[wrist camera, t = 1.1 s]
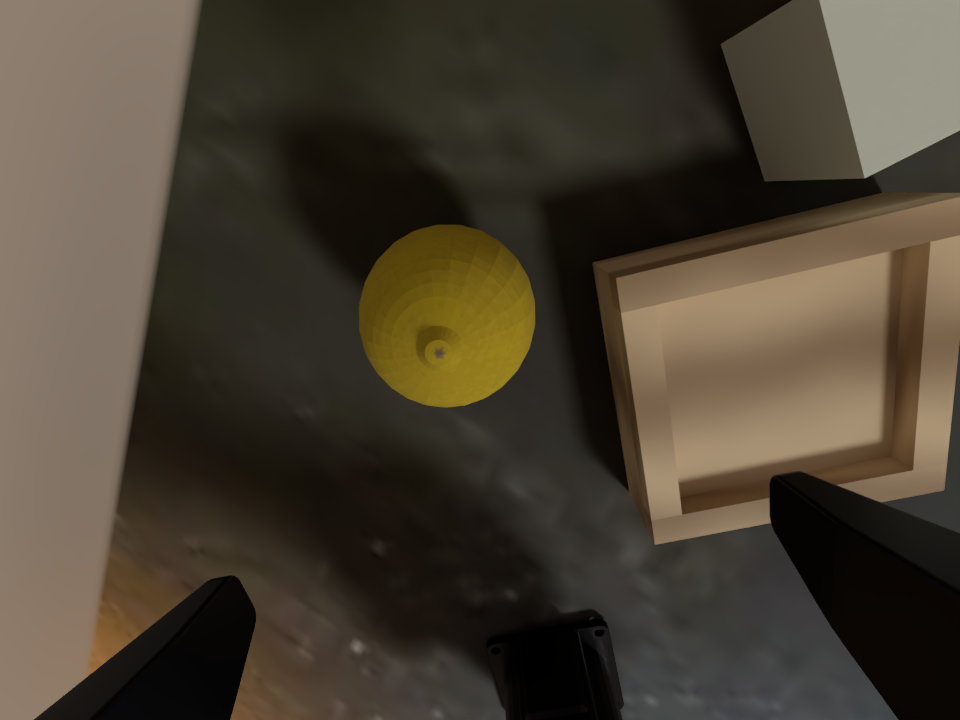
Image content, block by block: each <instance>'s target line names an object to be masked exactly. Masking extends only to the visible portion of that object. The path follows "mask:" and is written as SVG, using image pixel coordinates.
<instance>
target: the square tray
mask: <svg viewBox="0 0 960 720" xmlns="http://www.w3.org/2000/svg"><path fill="white" fill-rule="evenodd" d="M592 264H593V270H594V276H595V282H596V289H597V295H598V301H599V307H600V313H601V320H602V326H603V332H604V338H605V344H606V350H607V357H608V363H609V369H610V375H611V381H612V388H613V394H614V400H615V406H616V412H617V419H618V425H619V431H620V437H621V443H622V450H623V456H624V462H625V468H626V474H627V481H628V487H629V492H630V494H631V497H632V499H633V501H634V503H635V505H636V507H637V509H638V511H639V513H640V515H641V517H642V519H643V521H644V523H645V525H646V527H647V529H648V531H649V534H650V536H651V538H652V540H653V542H654V544H655V545H656V544H661V543H667V542H672V541H677V540H683V539H688V538H693V537H698V536H704V535H709V534H714V533H720V532H725V531H730V530H736V529H741V528H746V527H752V526H757V525H762V524H768V523H771V521H770V504H769V483H770V479H771V477H772V476H774V475H776V474H781V473H786V472H791V471H802V472H805V473H807V474H810V475H812V476H815V477H817V478H820V479H823V480H825V481H828V482H830V483H833V484H835V485H838V486H840V487H843V488H845V489H848V490H850V491H853V492H855V493H858V494H861V495H863V496H866V497H868V498H871V499H873V500H876V501H878V502H885V501H890V500H895V499H901V498H906V497H911V496H917V495H922V494H927V493H933V492H938V491H943V490H944V487H945V477H946V467H947V458H948V448H949V438H950V429H951V419H952V409H953V400H954V390H955V380H956V371H957V361H958V351H959V342H960V193H889V192H883V193H879V194H875V195H871V196H867V197H862V198H858V199H854V200H850V201H846V202H842V203H838V204H833V205H829V206H825V207H821V208H817V209H813V210H808V211H804V212H800V213H796V214H792V215H788V216H783V217H779V218H775V219H771V220H767V221H763V222H758V223H754V224H750V225H746V226H742V227H738V228H733V229H729V230H725V231H721V232H717V233H713V234H709V235H704V236H700V237H696V238H692V239H688V240H684V241H679V242H675V243H671V244H667V245H663V246H659V247H654V248H650V249H646V250H642V251H638V252H634V253H629V254H625V255H621V256H617V257H613V258H609V259H605V260H600V261H596V262H592Z"/></svg>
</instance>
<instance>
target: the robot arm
mask: <svg viewBox="0 0 960 720" xmlns="http://www.w3.org/2000/svg"><path fill="white" fill-rule="evenodd" d="M769 504H770V521H771V524H772V527H773V530H774V532H775V534H776V535H777V537H778V539H779V540H780V542H781V544H782V545H783V547H784V549H785V550H786V552H787V554H788V556H789V557H790V559H791V561H792V562H793V564H794V566H795V567H796V569H797V571H798V572H799V574H800V576H801V577H802V579H803V581H804V583H805V584H806V586H807V588H808V589H809V591H810V593H811V594H812V596H813V598H814V599H815V601H816V603H817V604H818V606H819V608H820V610H821V611H822V613H823V614H824V616H825V618H826V619H827V621H828V622H829V624H830V626H831V627H832V628H833V630H834V631H835V633H836V634H837V636H838V637H839V638H840V640H841V641H842V643H843V644H844V646H845V647H846V648H847V650H848V651H849V652H850V654H851V655H852V656H853V658H854V659H855V661H856V662H857V663H858V665H859V666H860V667H861V669H862V670H863V672H864V673H865V674H866V676H867V677H868V678H869V680H870V681H871V683H872V684H873V685H874V687H875V688H876V689H877V691H878V692H879V693H880V695H881V696H882V698H883V699H884V700H885V702H886V703H887V704H888V706H889V707H890V709H891V710H892V711H893V713H894V714H895V715H896V717H897V718H898V720H960V534H959V533H957V532H954V531H952V530H949V529H947V528H944V527H942V526H939V525H937V524H934V523H932V522H929V521H926V520H924V519H921V518H919V517H916V516H914V515H911V514H909V513H906V512H904V511H901V510H899V509H896V508H894V507H891V506H888V505H886V504H883V503H881V502H878V501H876V500H873V499H871V498H868V497H866V496H863V495H861V494H858V493H855V492H853V491H850V490H848V489H845V488H843V487H840V486H838V485H835V484H833V483H830V482H828V481H825V480H823V479H820V478H817V477H815V476H812V475H810V474H807V473H805V472H802V471H791V472H786V473H781V474H776V475H774V476H772V477H771V479H770V483H769ZM255 623H256V612H255V608H254V606H253V604H252V602H251V600H250V599H249V597H248V595H247V593H246V591H245V589H244V587H243V586H242V584H241V582H240V580H239V579H238V578H237V577H235V576H224V577H219V578H214V579H211V580H209V581H207V582H206V583H204V584H203V585H202V586H201V587H199V588H198V589H197V590H196V591H194V592H193V593H192V594H191V595H189V596H188V597H187V598H186V599H184V600H183V601H182V602H181V603H179V604H178V605H177V606H176V607H174V608H173V609H172V610H171V611H169V612H168V613H167V614H166V615H164V616H163V617H162V618H161V619H159V620H158V621H157V622H156V623H154V624H153V625H152V626H151V627H149V628H148V629H147V630H146V631H144V632H143V633H142V634H141V635H139V636H138V637H137V638H136V639H134V640H133V641H132V642H131V643H129V644H128V645H127V646H126V647H124V648H123V649H122V650H121V651H119V652H118V653H117V654H116V655H114V656H113V657H112V658H110V659H109V660H108V661H107V662H105V663H104V664H103V665H102V666H100V667H99V668H98V669H97V670H95V671H94V672H93V673H92V674H90V675H89V676H88V677H87V678H85V679H84V680H83V681H82V682H80V683H79V684H78V685H77V686H76V687H74V688H73V689H72V690H71V691H69V692H68V693H67V694H65V695H64V696H63V697H62V698H60V699H59V700H58V701H57V702H55V703H54V704H53V705H52V706H50V707H49V708H48V709H47V710H46V711H44V712H43V713H42V714H40V715H39V716H38V717H37V718H35V719H34V720H230V718H231V714H232V711H233V707H234V704H235V700H236V696H237V693H238V689H239V685H240V681H241V677H242V673H243V670H244V666H245V662H246V658H247V654H248V651H249V647H250V643H251V639H252V635H253V632H254V628H255ZM599 629H600V630H599ZM486 649H487V655H488V658H489V661H490V665H491V668H492V671H493V674H494V677H495V680H496V683H497V686H498V689H499V692H500V695H501V698H502V701H503V704H504V708H505V711H506V720H622V716H621V712H620V709H622V707H623V706H624V702H623V697H622V692H621V687H620V682H619V677H618V672H617V667H616V663H615V658H614V653H613V648H612V643H611V638H610V633H609V629H608V625H607V623H606V622H605V621H604V620H601V619H595V620H590V621H584V622H578V623H573V624H567V625H562V626H556V627H550V628H545V629H539V630H533V631H528V632H522V633H516V634H511V635H505V636H499V637H494V638H491V639H489V640H488V641H487V643H486Z"/></svg>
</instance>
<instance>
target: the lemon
mask: <svg viewBox="0 0 960 720" xmlns="http://www.w3.org/2000/svg"><path fill="white" fill-rule="evenodd" d="M534 327H535V300H534V296H533V292H532V289H531V285H530V282H529V278H528V276H527V275H526V273H525V271H524V270H523V268H522V266H521V265H520V263H519V261H518V260H517V258H516V257H515V256H514V255H513V254H512V253H511V252H510V251H509V250H508V249H507V248H506V247H505V246H504V245H503V244H502V243H501V242H500V241H498V240H496V239H495V238H493V237H491V236H490V235H488V234H486V233H484V232H483V231H481V230H477V229H473V228H470V227H466V226H462V225H434V226H430V227H426V228H422V229H419V230H415V231H413V232H411V233H410V234H408V235H406V236H404V237H403V238H401V239H399V240H398V241H396V242H394V243H393V244H392V245H391V246H390V247H389V248H388V249H387V250H386V251H385V252H384V253H383V255H382V256H381V257H380V258H379V259H378V260H377V261H376V263H375V265H374V266H373V268H372V270H371V272H370V274H369V275H368V277H367V279H366V281H365V284H364V288H363V292H362V296H361V300H360V304H359V331H360V335H361V339H362V342H363V346H364V349H365V353H366V355H367V357H368V359H369V360H370V362H371V364H372V366H373V367H374V369H375V371H376V372H377V373H378V375H379V376H380V377H381V378H382V379H383V380H384V381H385V382H386V383H387V384H388V385H389V386H390V387H391V388H392V389H394V390H395V391H397V392H399V393H400V394H402V395H403V396H405V397H406V398H408V399H410V400H413V401H416V402H419V403H422V404H424V405H429V406H438V407H454V406H464V405H467V404H470V403H473V402H476V401H479V400H482V399H484V398H486V397H488V396H489V395H491V394H492V393H494V392H495V391H497V390H498V389H500V388H501V387H503V385H504V384H505V383H506V382H507V381H508V380H509V379H510V378H511V377H512V376H513V375H514V374H515V373H516V371H517V370H518V369H519V367H520V365H521V363H522V361H523V359H524V358H525V356H526V354H527V352H528V350H529V348H530V344H531V340H532V336H533V332H534Z"/></svg>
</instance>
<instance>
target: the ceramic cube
mask: <svg viewBox="0 0 960 720" xmlns="http://www.w3.org/2000/svg"><path fill="white" fill-rule="evenodd" d="M721 47H722V50H723V53H724V56H725V59H726V62H727V66H728V69H729V72H730V75H731V78H732V81H733V84H734V87H735V90H736V94H737V97H738V100H739V103H740V106H741V109H742V112H743V115H744V119H745V122H746V125H747V128H748V131H749V134H750V137H751V140H752V143H753V147H754V150H755V153H756V156H757V159H758V162H759V165H760V168H761V171H762V175H763V178H764V181H793V180H827V179H860V178H866V177H868V176H870V175H872V174H874V173H876V172H878V171H880V170H882V169H884V168H886V167H888V166H890V165H892V164H894V163H896V162H898V161H900V160H902V159H904V158H906V157H908V156H910V155H912V154H914V153H916V152H918V151H920V150H922V149H924V148H926V147H928V146H930V145H932V144H934V143H936V142H938V141H940V140H941V139H943V138H945V137H947V136H949V135H951V134H953V133H955V132H957V131H959V130H960V0H792V1H790V2H789V3H787V4H785V5H784V6H782V7H781V8H779V9H777V10H776V11H774V12H772V13H771V14H769V15H767V16H766V17H764V18H763V19H761V20H759V21H758V22H756V23H754V24H753V25H751V26H750V27H748V28H746V29H745V30H743V31H741V32H740V33H738V34H736V35H735V36H733V37H732V38H730V39H728V40H727V41H725V42H723V43H722V44H721Z"/></svg>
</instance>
